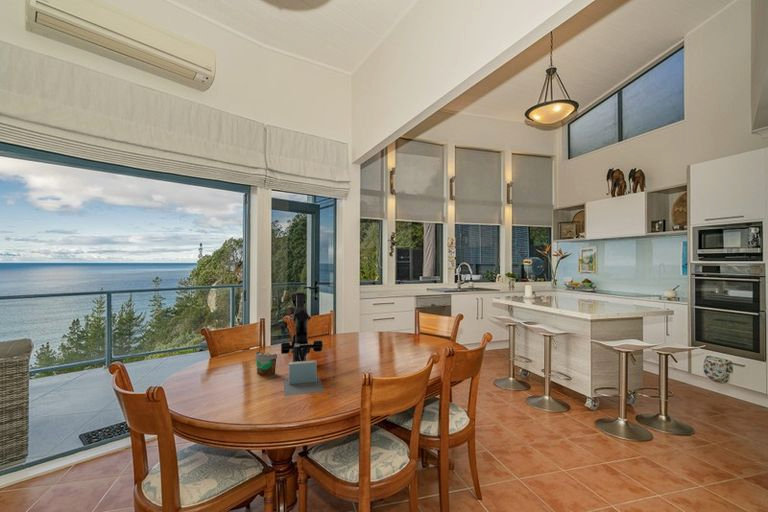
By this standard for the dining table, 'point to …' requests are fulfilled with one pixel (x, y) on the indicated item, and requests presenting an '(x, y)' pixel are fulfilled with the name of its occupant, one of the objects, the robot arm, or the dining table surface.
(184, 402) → the dining table surface
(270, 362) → the food container
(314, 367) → the tile
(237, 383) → the dining table surface
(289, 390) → the mat
